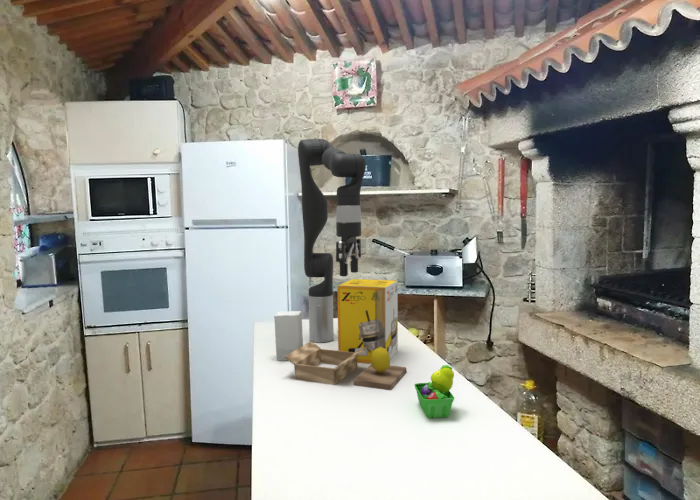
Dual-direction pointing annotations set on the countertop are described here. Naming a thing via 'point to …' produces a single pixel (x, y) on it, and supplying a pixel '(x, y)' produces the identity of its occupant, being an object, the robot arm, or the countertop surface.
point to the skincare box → (288, 333)
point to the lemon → (380, 359)
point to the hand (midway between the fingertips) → (349, 274)
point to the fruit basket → (437, 393)
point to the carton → (314, 355)
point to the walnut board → (380, 377)
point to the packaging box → (368, 317)
